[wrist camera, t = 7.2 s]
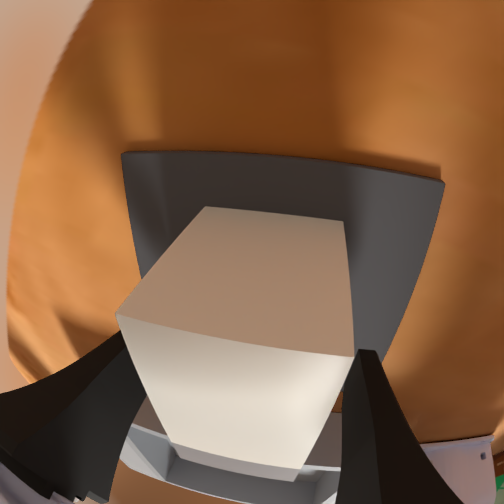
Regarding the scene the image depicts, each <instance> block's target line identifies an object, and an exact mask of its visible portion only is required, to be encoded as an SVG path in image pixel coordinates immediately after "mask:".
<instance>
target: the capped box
mask: <svg viewBox="0 0 504 504" xmlns="http://www.w3.org/2000/svg"><path fill="white" fill-rule="evenodd" d="M115 316H116V319H117V322H118V324H119V327H120V330H121V333H122V335H123V338H124V341H125V343H126V346H127V348H128V351H129V353H130V356H131V358H132V361H133V363H134V366H135V368H136V370H137V373H138V375H139V377H140V380H141V382H142V384H143V386H144V388H145V391H146V393H147V395H148V397H149V399H150V401H151V403H152V406H153V408H154V410H155V412H156V414H157V416H158V418H159V420H160V422H161V424H162V426H163V428H164V429H165V431H166V433H167V435H168V437H169V439H170V441H171V442H172V444H173V446H174V448H175V450H176V451H177V453H178V455H179V457H180V458H182V459H185V460H189V461H192V462H196V463H199V464H203V465H207V466H211V467H214V468H219V469H223V470H227V471H232V472H236V473H241V474H246V475H251V476H257V477H263V478H269V479H276V480H283V481H291V482H294V480H295V478H296V476H297V475H298V473H299V471H300V470H301V468H302V466H303V464H304V463H305V461H306V459H307V457H308V455H309V453H310V452H311V450H312V448H313V446H314V444H315V442H316V440H317V438H318V436H319V434H320V432H321V431H322V429H323V427H324V425H325V422H326V420H327V418H328V416H329V414H330V412H331V410H332V408H333V406H334V404H335V401H336V399H337V397H338V395H339V393H340V390H341V388H342V386H343V383H344V381H345V379H346V376H347V374H348V372H349V369H350V367H351V364H352V362H353V360H354V335H353V316H352V302H351V289H350V277H349V267H348V257H347V248H346V240H345V232H344V224H343V221H337V220H329V219H321V218H313V217H305V216H296V215H288V214H279V213H269V212H260V211H250V210H240V209H230V208H219V207H208V206H205V207H204V208H203V209H202V210H201V211H200V213H199V214H198V215H197V216H196V217H195V218H194V219H193V220H192V221H191V223H190V224H189V225H188V226H187V227H186V228H185V229H184V230H183V232H182V233H181V234H180V235H179V236H178V237H177V238H176V240H175V241H174V242H173V243H172V244H171V245H170V247H169V248H168V249H167V250H166V251H165V252H164V254H163V255H162V256H161V257H160V258H159V259H158V261H157V262H156V263H155V264H154V265H153V267H152V268H151V269H150V270H149V271H148V273H147V274H146V275H145V276H144V277H143V279H142V280H141V281H140V282H139V284H138V285H137V286H136V287H135V288H134V290H133V291H132V292H131V293H130V295H129V296H128V297H127V298H126V300H125V301H124V302H123V303H122V305H121V306H120V307H119V309H118V310H117V311H116V312H115Z"/></svg>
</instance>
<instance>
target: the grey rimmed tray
mask: <svg viewBox="0 0 504 504" xmlns="http://www.w3.org/2000/svg"><path fill="white" fill-rule="evenodd" d="M341 455H342V413H335V412H330V414H329V416H328V418H327V420H326V422H325V425H324V427H323V429H322V431H321V432H320V434H319V436H318V438H317V440H316V442H315V444H314V446H313V448H312V450H311V452H310V453H309V455H308V457H307V459H306V461H305V463H304V464H303V466H302V468H301V470H300V471H299V473H298V475H297V476H296V478H295V480H294V482H291V481H283V480H276V479H269V478H263V477H257V476H251V475H246V474H241V473H236V472H232V471H227V470H223V469H219V468H214V467H211V466H207V465H203V464H199V463H196V462H192V461H189V460H185V459H182V458H180V457H179V455H178V453H177V451H176V450H175V448H174V446H173V444H172V442H171V441H170V439H169V437H168V435H167V433H166V431H165V429H164V428H163V426H162V424H161V422H160V420H159V418H158V416H157V414H156V412H155V410H154V408H153V406H152V403H151V401H150V399H149V397H148V395H147V396H146V398H145V400H144V402H143V403H142V405H141V407H140V409H139V411H138V413H137V414H136V416H135V418H134V420H133V422H132V425H131V427H130V429H129V432H128V435H127V437H126V440H125V442H124V445H123V448H122V451H121V454H120V457H119V458H120V459H121V460H122V461H123V462H124V463H125V464H126V465H127V466H128V467H129V468H131V469H133V470H135V471H138V472H140V473H143V474H145V475H148V476H150V477H153V478H156V479H159V480H162V481H164V482H167V483H170V484H173V485H176V486H179V487H182V488H185V489H189V490H192V491H196V492H199V493H203V494H206V495H210V496H214V497H218V498H223V499H227V500H231V501H236V502H241V503H246V504H335V500H336V495H337V490H338V484H339V478H340V471H341ZM430 462H431V463H432V465H433V461H430Z"/></svg>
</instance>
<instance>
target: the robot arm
mask: <svg viewBox="0 0 504 504" xmlns="http://www.w3.org/2000/svg"><path fill="white" fill-rule="evenodd" d="M146 396H147V393H146V391H145V388H144V386H143V384H142V382H141V380H140V377H139V375H138V373H137V370H136V368H135V366H134V363H133V361H132V358H131V356H130V353H129V351H128V348H127V346H126V343H125V341H124V338H123V335H122V333H121V330H120V331H118V332H117V333H116V334H114V335H113V336H112V337H110V338H109V339H108V340H106V341H105V342H104V343H102V344H101V345H100V346H98V347H97V348H95V349H94V350H92V351H91V352H89V353H88V354H86V355H85V356H83V357H82V358H80V359H79V360H77V361H76V362H74V363H72V364H71V365H69V366H67V367H66V368H64V369H62V370H60V371H58V372H56V373H54V374H52V375H50V376H48V377H46V378H44V379H41V380H39V381H37V382H35V383H32V384H30V385H27V386H25V387H22V388H19V389H16V390H13V391H9V392H5V393H1V394H0V504H74V503H73V501H74V499H75V497H76V498H78V499H79V500H81V501H84V500H85V498H86V496H87V497H89V498H90V499H92V500H94V501H96V502H98V503H100V504H103V503H107V502H108V501H109V496H110V491H111V486H112V482H113V478H114V474H115V470H116V467H117V463H118V460H119V457H120V454H121V451H122V448H123V445H124V442H125V440H126V437H127V435H128V432H129V429H130V427H131V425H132V422H133V420H134V418H135V416H136V414H137V413H138V411H139V409H140V407H141V405H142V403H143V402H144V400H145V398H146ZM493 440H494V435H490V436H484V437H478V438H472V439H465V440H458V441H449V442H440V443H428V444H419V442H418V441H417V439H416V437H415V436H414V434H413V432H412V430H411V428H410V426H409V424H408V422H407V420H406V418H405V417H404V414H403V412H402V410H401V408H400V406H399V404H398V402H397V400H396V397H395V395H394V393H393V391H392V388H391V386H390V384H389V381H388V379H387V377H386V374H385V372H384V369H383V367H382V364H381V362H380V359H379V356H378V354H377V352H376V351H375V350H367V349H358V351H357V354H356V356H355V359H354V361H353V364H352V366H351V368H350V371H349V373H348V376H347V378H346V380H345V383H344V392H343V402H342V455H341V471H340V478H339V484H338V490H337V495H336V500H335V504H494V502H495V498H496V481H495V472H494V465H493V458H492V451H491V445H490V442H492V441H493ZM430 461H433V465H432V463H431V462H430Z"/></svg>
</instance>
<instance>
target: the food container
mask: <svg viewBox="0 0 504 504" xmlns="http://www.w3.org/2000/svg"><path fill="white" fill-rule="evenodd" d="M492 458H493V465H494V472H495V481H496V498H495V502H494V504H504V451H503V452H500V453H498V454H496V455H494V456H492Z"/></svg>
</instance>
